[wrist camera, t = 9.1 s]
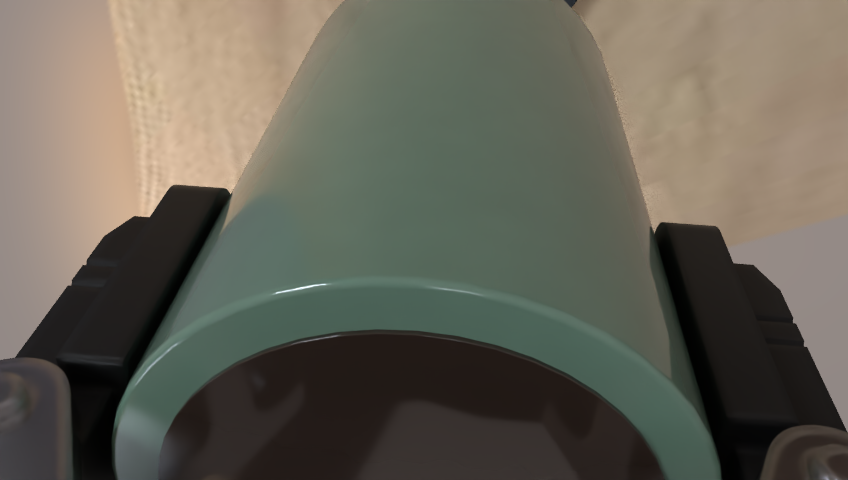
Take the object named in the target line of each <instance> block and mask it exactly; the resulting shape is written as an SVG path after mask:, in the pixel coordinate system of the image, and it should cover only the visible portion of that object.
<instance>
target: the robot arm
mask: <svg viewBox="0 0 848 480" xmlns="http://www.w3.org/2000/svg"><path fill="white" fill-rule="evenodd" d="M229 197H230V193H229V191H228V190H227V189H225V188H213V187H199V186H186V185H173V186H171V187H170V188H169V190H168V191H167V192H166V194H165V195H164V197H163V198H162V200H161V201H160V203H159V204H158V206H157V207H156V209H155V210H154V212H153V213H152V215H151V216H150V217H138V216H134V217H132V218H131V219H129V220H128V221H126V222H125V223H123V224H122V225H121V226H119V227H117V228H116V229H114V230H113V231H111V232H110V233H108V234H107V235H105V236H104V237H103V239H102V240H101V241H100V243H99V244H98V245H97V247H96V248H95V250H94V251H93V252H92V254H91V255H90V257H89V258H88V259H87V264H86V265H83V266H82V267H81V269H80V270H79V271H78V273H77V274H76V275H75V277H74V278H73V280H72V285H71V286H67V288H66V289H65V290H64V292H63V293H62V294H61V296H60V297H59V299H58V300H57V301H56V303H55V304H54V305H53V307H52V308H51V309H50V311H49V312H48V314H47V315H46V316H45V318H44V319H43V320H42V322H41V323H40V324H39V326H38V327H37V329H36V330H35V331H34V333H33V334H32V335H31V337H30V338H29V339H28V341H27V342H26V343H25V345H24V346H23V347H22V349H21V350H20V351H19V353H18V354H17V356H16V357H15V358H10V359H4V360H0V480H115V477H114V472H113V468H112V430H113V425H114V420H115V415H116V410H117V407H118V405H119V403H120V401H121V398H122V396H123V394H124V392H125V389H126V387H127V385H128V383H129V381H130V379H131V377H132V375H133V374H134V372H135V370H136V368H137V366H138V364H139V363H140V361H141V359H142V357H143V355H144V353H145V352H146V350H147V348H148V346H149V344H150V342H151V340H152V339H153V337H154V335H155V333H156V331H157V329H158V328H159V326H160V324H161V322H162V320H163V318H164V316H165V315H166V313H167V311H168V309H169V307H170V305H171V304H172V302H173V300H174V298H175V296H176V294H177V293H178V291H179V289H180V287H181V285H182V283H183V281H184V280H185V278H186V276H187V274H188V272H189V270H190V269H191V267H192V265H193V263H194V261H195V259H196V258H197V256H198V254H199V252H200V250H201V248H202V246H203V245H204V243H205V241H206V239H207V237H208V235H209V234H210V232H211V230H212V228H213V226H214V224H215V222H216V221H217V219H218V217H219V215H220V213H221V211H222V210H223V208H224V206H225V204H226V202H227V200H228V199H229ZM655 238H656V241H657V245H658V248H659V252H660V255H661V259H662V262H663V266H664V269H665V272H666V276H667V279H668V283H669V286H670V290H671V293H672V297H673V300H674V304H675V307H676V310H677V314H678V317H679V321H680V324H681V328H682V331H683V335H684V338H685V342H686V345H687V348H688V352H689V355H690V359H691V362H692V366H693V369H694V373H695V376H696V380H697V383H698V386H699V390H700V393H701V397H702V400H703V404H704V407H705V411H706V414H707V418H708V421H709V424H710V428H711V431H712V435H713V438H714V442H715V445H716V449H717V452H718V456H719V459H720V463H721V471H722V479H723V480H848V432H847V431H846V428H845V426H844V424H843V422H842V420H841V418H840V416H839V414H838V412H837V409H836V407H835V405H834V403H833V401H832V399H831V397H830V395H829V393H828V391H827V388H826V386H825V384H824V382H823V380H822V378H821V376H820V374H819V371H818V369H817V367H816V365H815V363H814V361H813V359H812V357H811V354H810V352H809V350H808V348H807V347H804V340H803V338H802V336H801V333H800V331H799V329H798V327H797V325H796V324H795V323H793V317H792V315H791V312H790V310H789V308H788V306H787V304H786V302H785V300H784V297H783V295H782V293H781V291H780V290H779V289H778V288H777V287H776V286H775V285H774V284H773V283H772V282H771V281H770V280H769V279H768V278H767V277H765V276H764V275H763V274H762V273H761V272H760V271H759V270H758V269H757V268H756V267H755V266H754V265H746V264H734V263H733V262H732V259H731V256H730V254H729V252H728V249H727V247H726V244H725V242H724V239H723V237H722V234H721V232H720V230H719V229H718V228H717V227H716V226H706V225H693V224H679V223H666V222H661V223H660V224H659V225H658V227H657V229H656V231H655Z"/></svg>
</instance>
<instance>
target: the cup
mask: <svg viewBox="0 0 848 480" xmlns="http://www.w3.org/2000/svg"><path fill="white" fill-rule="evenodd" d="M112 468H113V472H114V477H115V480H723V479H722V471H721V463H720V459H719V456H718V452H717V449H716V445H715V442H714V438H713V435H712V431H711V428H710V424H709V421H708V418H707V414H706V411H705V407H704V404H703V400H702V397H701V393H700V390H699V386H698V383H697V380H696V376H695V373H694V369H693V366H692V362H691V359H690V355H689V352H688V348H687V345H686V342H685V338H684V335H683V331H682V328H681V324H680V321H679V317H678V314H677V310H676V307H675V304H674V300H673V297H672V293H671V290H670V286H669V283H668V279H667V276H666V272H665V269H664V266H663V262H662V259H661V255H660V252H659V248H658V245H657V241H656V238H655V234H654V231H653V228H652V224H651V221H650V217H649V214H648V210H647V207H646V203H645V200H644V196H643V193H642V190H641V186H640V183H639V179H638V176H637V172H636V169H635V165H634V162H633V158H632V155H631V152H630V148H629V145H628V141H627V138H626V134H625V131H624V127H623V124H622V120H621V117H620V114H619V110H618V107H617V103H616V100H615V96H614V93H613V89H612V86H611V82H610V79H609V75H608V72H607V69H606V66H605V63H604V60H603V57H602V54H601V51H600V49H599V47H598V45H597V43H596V41H595V39H594V37H593V35H592V34H591V32H590V31H589V29H588V28H587V27H586V25H585V24H584V22H583V21H582V19H581V18H580V17H579V16H578V15H577V14H576V12H575V11H574V10H573V9H572V8H571V7H570V6H569V5H568V4H567V3H566V2H565V1H564V0H345V1H343V2H342V3H341V4H340V6H339V7H338V8H337V9H336V10H335V11H334V12H333V13H332V14H331V16H330V17H329V18H328V19H327V21H326V22H325V24H324V25H323V27H322V28H321V30H320V31H319V33H318V34H317V36H316V38H315V40H314V42H313V44H312V46H311V47H310V49H309V51H308V53H307V55H306V57H305V58H304V60H303V62H302V64H301V66H300V68H299V69H298V71H297V73H296V75H295V77H294V79H293V81H292V82H291V84H290V86H289V88H288V90H287V92H286V93H285V95H284V97H283V99H282V101H281V103H280V105H279V106H278V108H277V110H276V112H275V114H274V116H273V117H272V119H271V121H270V123H269V125H268V127H267V128H266V130H265V132H264V134H263V136H262V138H261V140H260V141H259V143H258V145H257V147H256V149H255V151H254V152H253V154H252V156H251V158H250V160H249V162H248V163H247V165H246V167H245V169H244V171H243V173H242V175H241V176H240V178H239V180H238V182H237V184H236V186H235V187H234V189H233V191H232V193H231V195H230V197H229V199H228V200H227V202H226V204H225V206H224V208H223V210H222V211H221V213H220V215H219V217H218V219H217V221H216V222H215V224H214V226H213V228H212V230H211V232H210V234H209V235H208V237H207V239H206V241H205V243H204V245H203V246H202V248H201V250H200V252H199V254H198V256H197V258H196V259H195V261H194V263H193V265H192V267H191V269H190V270H189V272H188V274H187V276H186V278H185V280H184V281H183V283H182V285H181V287H180V289H179V291H178V293H177V294H176V296H175V298H174V300H173V302H172V304H171V305H170V307H169V309H168V311H167V313H166V315H165V316H164V318H163V320H162V322H161V324H160V326H159V328H158V329H157V331H156V333H155V335H154V337H153V339H152V340H151V342H150V344H149V346H148V348H147V350H146V352H145V353H144V355H143V357H142V359H141V361H140V363H139V364H138V366H137V368H136V370H135V372H134V374H133V375H132V377H131V379H130V381H129V383H128V385H127V387H126V389H125V392H124V394H123V396H122V398H121V401H120V403H119V405H118V407H117V410H116V415H115V420H114V425H113V430H112Z"/></svg>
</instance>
